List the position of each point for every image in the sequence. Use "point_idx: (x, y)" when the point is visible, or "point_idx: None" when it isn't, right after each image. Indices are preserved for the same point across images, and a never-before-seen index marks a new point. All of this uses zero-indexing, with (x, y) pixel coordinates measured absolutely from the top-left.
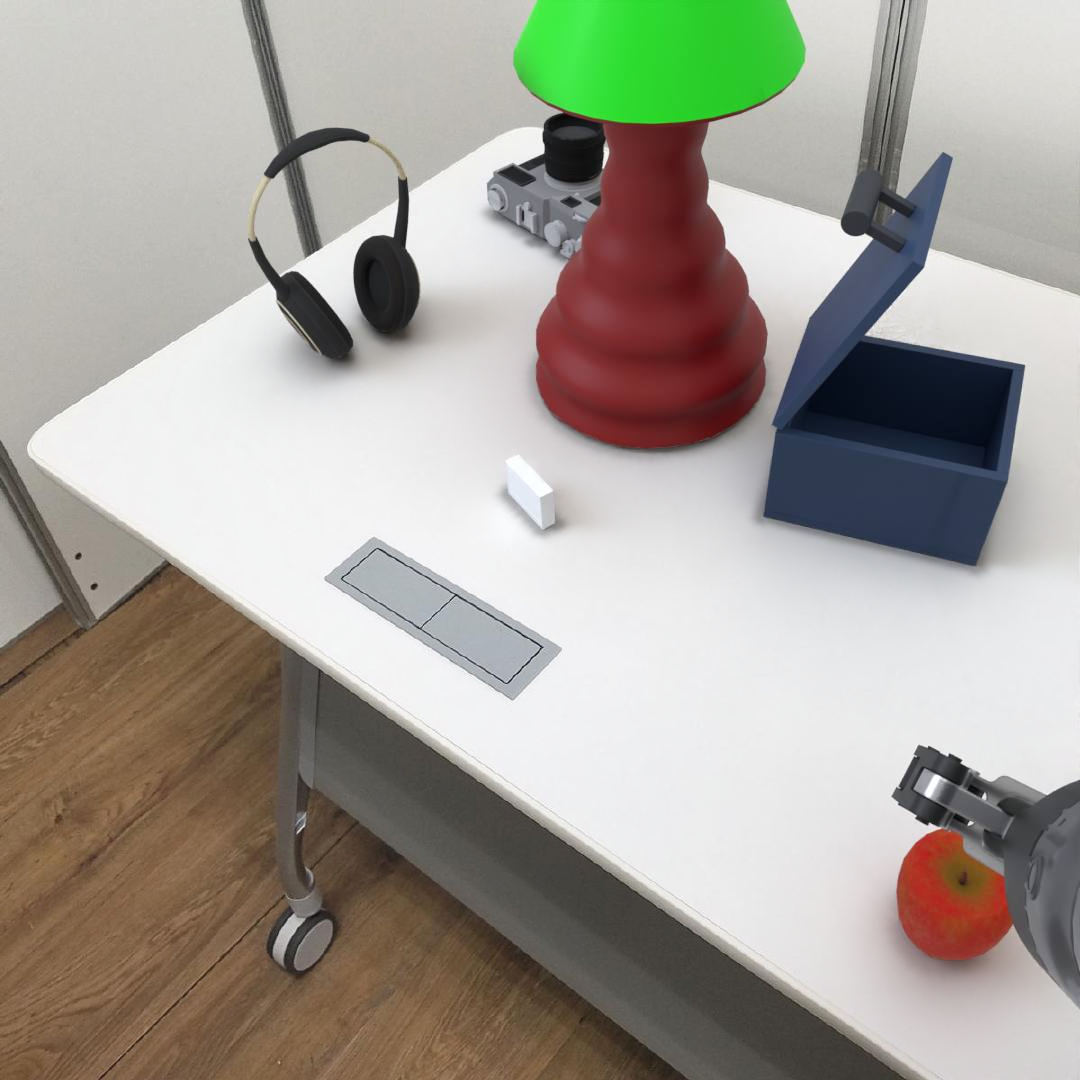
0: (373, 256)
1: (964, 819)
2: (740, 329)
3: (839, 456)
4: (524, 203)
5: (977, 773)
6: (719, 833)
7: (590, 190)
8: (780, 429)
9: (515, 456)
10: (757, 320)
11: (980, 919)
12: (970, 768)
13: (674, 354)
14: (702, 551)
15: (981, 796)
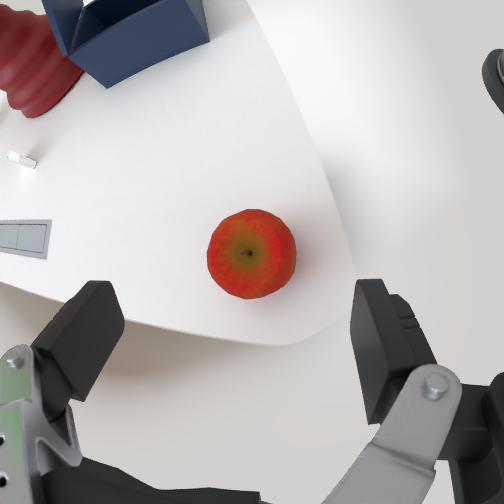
0: None
1: (50, 418)
2: None
3: (100, 42)
4: None
5: (11, 364)
6: (139, 273)
7: None
8: (67, 54)
9: (9, 152)
10: None
11: (266, 283)
12: (6, 357)
13: (33, 64)
14: (86, 125)
15: (57, 365)
